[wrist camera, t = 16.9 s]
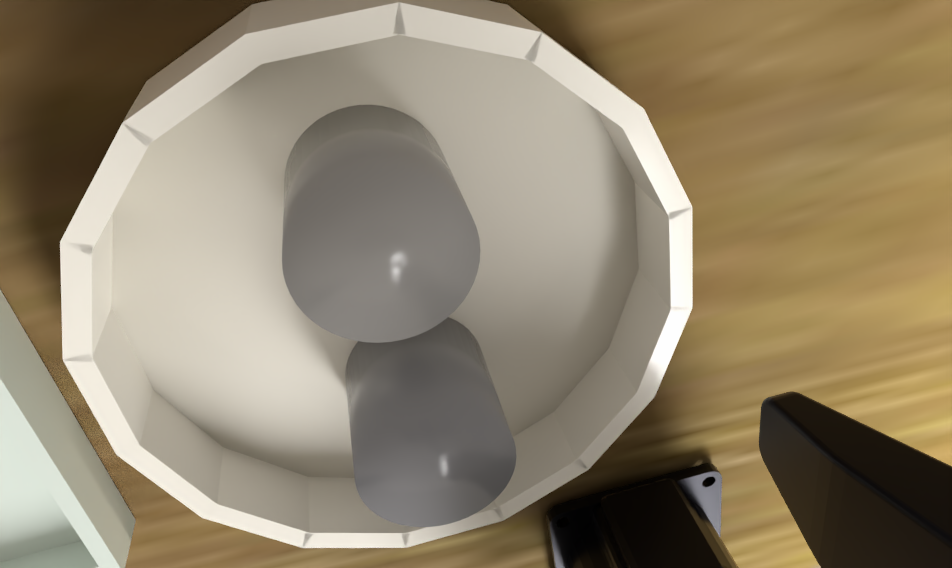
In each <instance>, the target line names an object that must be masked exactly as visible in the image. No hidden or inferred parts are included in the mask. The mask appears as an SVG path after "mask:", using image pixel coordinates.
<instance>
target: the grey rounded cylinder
mask: <svg viewBox="0 0 952 568" xmlns="http://www.w3.org/2000/svg"><path fill="white" fill-rule="evenodd" d="M345 381H346V391H347V402H348V413H349V424H350V435H351V445H352V456H353V467H354V478H355V484H356V489H357V491H358V494H359V496H360V498H361V499H362V501H363V503H364V504H365V505H366V506H367V507H368V508H369V509H370V510H371V511H372V512H374V513H375V514H376V515H378V516H380V517H381V518H383V519H385V520H388V521H390V522H393V523H396V524H399V525H404V526H410V527H434V526H441V525H446V524H450V523H453V522H457V521H460V520H462V519H465V518H467V517H469V516H471V515H473V514H475V513H477V512H479V511H480V510H482V509H483V508H485V507H486V506H488V505H489V504H490V503H491V502H493V501H494V500H495V499H496V498H497V497H498V496H499V495H500V494H501V493H502V491H503V490H504V489H505V488H506V486H507V484H508V483H509V481H510V479H511V477H512V475H513V473H514V469H515V465H516V458H517V455H516V446H515V442H514V439H513V436H512V434H511V431H510V428H509V425H508V423H507V420H506V417H505V414H504V412H503V409H502V406H501V403H500V400H499V398H498V395H497V392H496V389H495V387H494V384H493V381H492V378H491V375H490V373H489V370H488V367H487V364H486V362H485V359H484V356H483V353H482V351H481V348H480V346H479V343H478V341H477V340H476V338H475V336H474V335H473V334H472V333H471V332H470V331H469V330H468V329H467V328H466V327H465V326H464V325H462V324H461V323H459V322H458V321H456V320H454V319H451V318H449V317H447V318H446V319H445V320H444V321H442V322H441V323H439V324H438V325H437V326H435V327H433V328H431V329H429V330H428V331H426V332H423V333H421V334H419V335H416V336H414V337H410V338H407V339H404V340H398V341H393V342H383V343H370V342H361V341H358V342H357V343H356V345H355V346H354V348H353V349H352V351H351V353H350V355H349V357H348V361H347V364H346V371H345Z"/></svg>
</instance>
